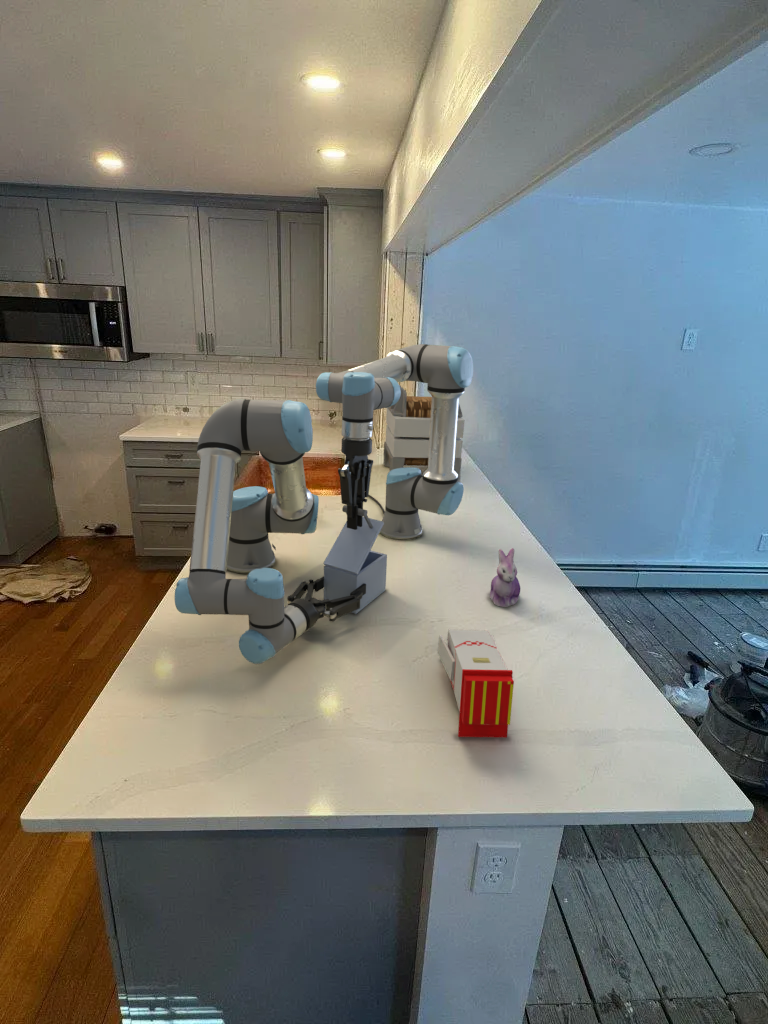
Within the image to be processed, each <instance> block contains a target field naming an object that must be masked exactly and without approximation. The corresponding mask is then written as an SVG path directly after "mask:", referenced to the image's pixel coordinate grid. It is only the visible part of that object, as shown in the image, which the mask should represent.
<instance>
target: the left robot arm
mask: <svg viewBox="0 0 768 1024" xmlns="http://www.w3.org/2000/svg"><path fill="white" fill-rule="evenodd" d="M311 415H312V414H311V411H310V409H309V407H308V405H307V404H306V403H305V402H302V401H296V400H295V401H293V400H291V399H288V400H287V399H285V400H283V399H282V400H279V399H246V398H237V399H232V400H229V401H227V402H226V403H224V404H222V405H220V406H219V407H218V408H217V409H216V410H215V411H214V412H213V413H212V414H211V415H210V417H208V419H207V421H206V422H205V424H204V425H203V427H202V429H201V431H200V434H199V436H198V440H197V446H196V447H197V448H196V456H197V457H198V459H199V460H200V463H199V464H200V465H199V475H198V484H197V492H196V493H197V494H196V501H195V502H196V503H195V511H194V522H193V532H192V540H191V549H190V550H191V551H190V562H189V573H188V577H187V576H186V577H182V578H181V577H180V579H178V581H177V583H176V585H175V586H176V587H175V589H174V605H175V608H176V610H177V611H178V612H179V613H180V614H188V615H198V616H202V615H221V616H223V615H227V616H248V629H247V630H245V631H244V633H242V634H241V635H240V637H239V640H238V649H239V651H240V654H241V655H242V656H243V658H244V659H245V660H247V662H249V663H252V664H254V665H259V664H263V663H265V662H267V661H268V660H269V659H271V658H274V657H275V656H276V654H278V653H279V652H281V650H283V649H284V648H286V647H287V646H288V645H290V643H292V642H293V641H295V640H296V639H298V638H299V637H300V636H301V635H303V634H304V633H306V632H307V631H308V630H311V628H313V627H314V626H315V625H316V623H317V622H318V620H319V619H322V618H328V621H329V622H334V621H336V620H337V619H338V618H340V617H343V616H346V615H349V614H350V613H351V612H353V611H355V610H357V609H360V599H362V596H363V595H364V594H366V584H362V585H361V586H359V587H358V588H357V589H355V590H354V591H352V592H351V593H350V596H346V597H342V598H337V599H333V600H329V599H325V600H324V599H318V598H316V597H314V593H318V592H320V591H321V590H322V589H324V575H323V576H322V577H320V578H317V579H316V580H314V579H312V578H311V579H309V580H308V582H307V581H305V580H303V581H301V582H300V584H299V585H298V586H297V588H296V589H294V591H293V592H292V594H289V595H288V596H287V597H286V602H287V604H286V605H285V587H284V577H283V574H282V573H281V571H279V570H277V569H275V568H272V567H274V565H275V564H276V554H275V553H274V550H275V551H277V549H276V546H275V545H274V543H271V542H270V538H269V534H299V535H305V534H306V535H307V534H314V533H315V532H316V529H317V525H318V515H319V503H320V502H319V501H320V500H319V496H318V494H314V493H312V492H311V491H310V489H308V488H307V483H306V475H305V466H304V459H303V457H305V454H306V453H308V452H310V451H311V450H312V447H313V441H314V440H313V439H314V438H313V437H314V436H313V435H314V434H313V433H314V432H313V424H312V423H313V422H312V421H313V420H312V416H311ZM243 451H247V452H249V451H250V452H259V453H260V457H262V459H264V460H265V461H266V462H267V463H268V468H269V472H270V475H271V476H270V477H271V480H272V485H273V489H274V493H269V491H268V489H267V488H266V487H264V486H261V485H260V486H259V485H258V486H257V485H255V486H252V485H251V486H246V487H242V488H238V489H235V488H234V487H235V476H236V475H235V474H236V464H238V463H239V462H240V461H241V460H242V452H243ZM234 489H235V490H234ZM227 571H229V572H232V573H236V574H243V575H245V574H247V576H246V578H227ZM304 595H305V596H304ZM303 596H304V598H303Z"/></svg>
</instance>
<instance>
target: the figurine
mask: <svg viewBox="0 0 768 1024" xmlns="http://www.w3.org/2000/svg"><path fill="white" fill-rule="evenodd" d="M514 558H515V548H514V547H512V548H511V549H509V551H508V553H507V555H506V554H505V551H503V549H501V548H499V549H498V565H497V568H496V574H497V575H495V576H494V577H493V578H492V579H491V582H490V591H489V599H490V600H491V601H492V602H493V604H494V605H495V606H497V607H503V608H507V607H510V606H514V605H516V603H518V601H519V597H520V594H521V584H520V581H519V579H518V577H517V576H518V569H517V567H516V564H515V561H514Z"/></svg>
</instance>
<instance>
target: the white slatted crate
mask: <svg viewBox="0 0 768 1024" xmlns="http://www.w3.org/2000/svg"><path fill="white" fill-rule="evenodd" d="M399 386H400V390H401V395H400V398H399V400H398V402H397V403H396V404H394V405H392V406H390V407H387V408H386V413H385V414H386V415H385V423H386V428H385V438H384V442H383V466H384V467H388V468H389V472H390V471H391V470H393V469H397V468H405V466H406V467H409V466H411V467H417V466H418V467H428V455H429V437H430V419H431V401H432V396H415V395H414V396H413V395H412V396H411V395H407V394H408V393H407V390H406V389H404V388H403V387H402V385H400V384H399ZM464 429H465V419H464V418H463V411H462V408H461V405H460V404H459V407H458V420H457V434H456V447H455V461H454V471H455V472H456V473H457V474H458V482H460V483H461V472H462V461H463V460H462V453H463V442H464V441H463V440H462V439H463V438H464V431H465V430H464Z"/></svg>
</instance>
